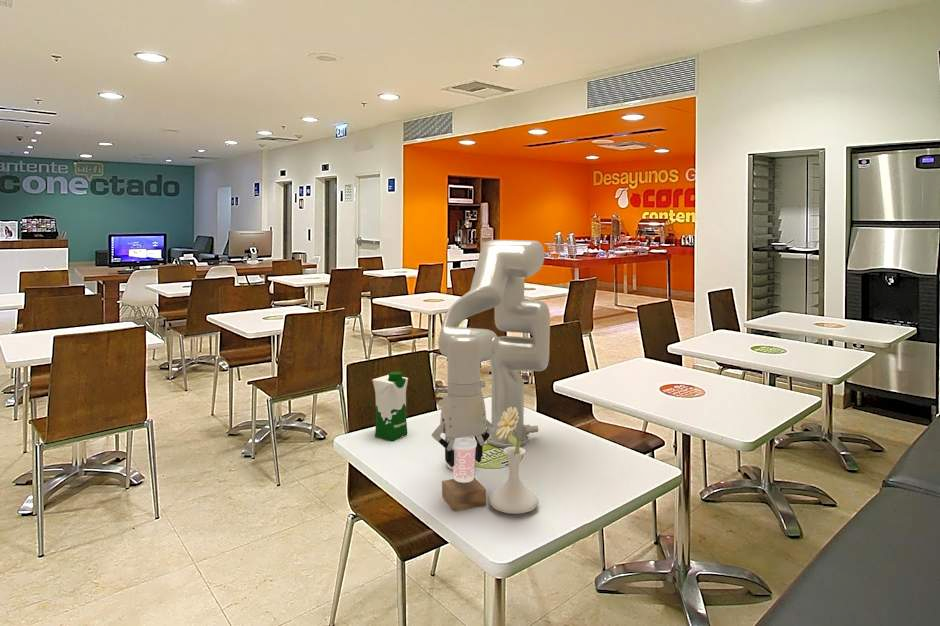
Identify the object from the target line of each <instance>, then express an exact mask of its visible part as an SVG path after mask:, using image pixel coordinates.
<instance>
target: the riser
mask: <svg viewBox="0 0 940 626" xmlns="http://www.w3.org/2000/svg"><path fill="white" fill-rule="evenodd" d="M441 497H442V498H443V499H444V501H445V502H446V503H447V504H448V506H449V507H450V509H452V511H453V512H457V511H463V510H467V509H473V508H479V507H483V506H487V488H486V487H485V486H484V485H483V484H482V483H480V481H479V480H478V479H477V478H476V477H475V476H474V479H473V480H472V481H470V482H465V483H463V482H457V481H456V480H455V479H454V478H453V479H447V480H442V481H441Z"/></svg>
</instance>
